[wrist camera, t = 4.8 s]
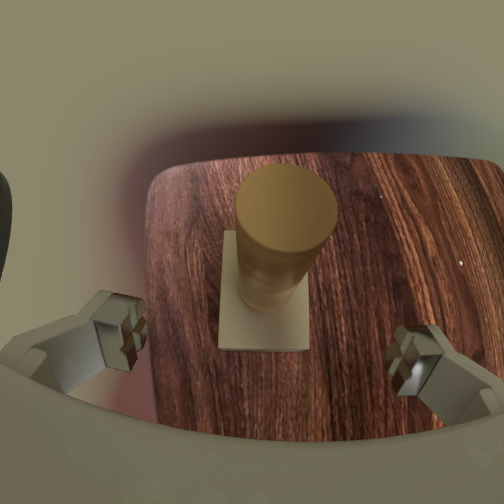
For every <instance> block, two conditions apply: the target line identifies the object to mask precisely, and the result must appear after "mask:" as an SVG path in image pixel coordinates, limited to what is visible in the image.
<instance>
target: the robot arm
mask: <svg viewBox="0 0 504 504" xmlns="http://www.w3.org/2000/svg"><path fill="white" fill-rule="evenodd" d="M144 312H145V303H144V300H143V299H142V298H138V297H133V296H128V295H123V294H119V293H113V292H109V291H104V290H101V291H98V292H97V293H96V295H94V297H93V298H92V299H91V300H90V301H89V302H88V303H87V304H86V305H85V306H84V307H83V308H82V310H81V311H80V312H79V313H78V314H77V315H76V316H74V315H70V316H68V317H65V318H63V319H60V320H57V321H54V322H52V323H49V324H46V325H44V326H41V327H39V328H36V329H33V330H30V331H28V332H25V333H22V334H20V335H17V336H14V337H13V338H12V339H11V340H10V341H9V342H8V343H7V344H6V345H5V346H4V348H3V349H2V350H1V351H0V504H504V381H503V380H501V379H500V378H498V377H497V376H495V375H494V374H492V373H491V372H489V371H488V370H486V369H484V368H483V367H481V366H480V365H478V364H477V363H475V362H473V361H472V360H470V359H469V358H467V357H466V356H464V355H462V354H461V353H457V352H456V351H455V349H454V348H453V346H452V345H451V344H450V342H449V341H448V339H447V338H446V336H445V335H444V333H443V332H442V331H441V329H440V328H439V326H437V325H399V326H398V327H397V329H396V330H395V333H394V335H393V336H394V339H395V341H394V342H393V343H391V344H390V345H389V346H388V349H387V351H386V353H385V368H386V370H387V373H389V374H390V375H391V376H392V377H393V378H392V381H391V383H392V386H393V388H394V391H395V394H396V396H409V395H417V396H418V397H419V398H420V399H421V400H422V401H423V402H424V403H425V404H426V405H427V406H428V407H429V408H430V409H431V410H432V411H433V412H434V413H435V414H436V415H437V416H438V417H439V418H440V419H441V420H442V421H443V422H444V423H445V424H446V425H447V426H448V427H444V428H440V429H435V430H430V431H425V432H419V433H413V434H407V435H401V436H393V437H385V438H376V439H366V440H353V441H332V442H292V441H270V440H257V439H246V438H237V437H228V436H221V435H214V434H207V433H201V432H195V431H190V430H185V429H180V428H175V427H170V426H166V425H161V424H157V423H153V422H149V421H145V420H141V419H137V418H134V417H130V416H126V415H123V414H120V413H117V412H113V411H110V410H107V409H104V408H101V407H98V406H95V405H93V404H90V403H87V402H84V401H82V400H79V399H76V398H73V397H71V396H69V395H66V394H67V393H69V392H70V391H71V390H73V389H75V388H76V387H78V386H79V385H81V384H82V383H84V382H86V381H87V380H89V379H90V378H92V377H93V376H95V375H96V374H98V373H99V372H101V371H102V370H104V369H105V368H106V367H109V368H113V369H117V370H121V371H125V372H131V370H132V368H133V366H134V364H135V362H136V360H137V353H136V352H138V351H140V350H141V349H143V347H144V345H145V342H146V338H147V330H148V327H147V321H146V320H145V319H144V317H143V316H142V315H143V313H144Z"/></svg>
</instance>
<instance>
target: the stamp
mask: <svg viewBox="0 0 504 504" xmlns="http://www.w3.org/2000/svg"><path fill="white" fill-rule="evenodd" d="M337 218H338V207H337V202H336V199H335V196H334V194H333V192H332V190H331V189H330V187H329V186H328V184H327V183H326V182H325V181H324V180H323V179H322V178H321V177H320V176H318V175H317V174H316V173H314V172H312V171H311V170H309V169H306V168H304V167H301V166H298V165H294V164H287V163H278V164H271V165H267V166H264V167H261V168H259V169H257V170H255V171H254V172H252V173H251V174H250V175H248V176H247V177H246V178H245V179H244V181H243V182H242V183H241V185H240V186H239V188H238V190H237V193H236V197H235V226H236V231H231V230H225V231H224V241H223V257H222V273H221V291H220V311H219V333H218V348H220V349H221V350H224V351H253V352H299V351H303V350H307V349H309V296H308V270H309V268H310V267H311V265H312V264H313V262H314V261H315V259H316V257H317V256H318V254H319V253H320V251H321V250H322V248H323V247H324V245H325V243H326V242H327V240H328V239H329V237H330V235H331V234H332V232H333V231H334V228H335V226H336V223H337Z"/></svg>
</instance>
